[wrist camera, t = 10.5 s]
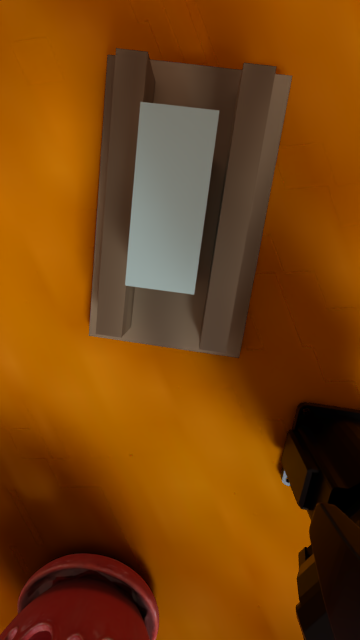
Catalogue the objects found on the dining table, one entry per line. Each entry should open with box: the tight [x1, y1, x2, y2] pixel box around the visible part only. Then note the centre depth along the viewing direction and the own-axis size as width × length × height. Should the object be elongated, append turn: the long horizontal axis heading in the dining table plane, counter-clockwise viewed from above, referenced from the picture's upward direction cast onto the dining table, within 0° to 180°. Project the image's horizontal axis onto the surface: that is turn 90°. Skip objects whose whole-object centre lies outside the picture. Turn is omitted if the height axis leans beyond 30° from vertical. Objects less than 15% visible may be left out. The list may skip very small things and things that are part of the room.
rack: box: [89, 48, 292, 358], centre depth 17 cm, size 10×16×4 cm, turn 172°
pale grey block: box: [125, 102, 219, 295], centre depth 15 cm, size 3×7×6 cm, turn 173°
